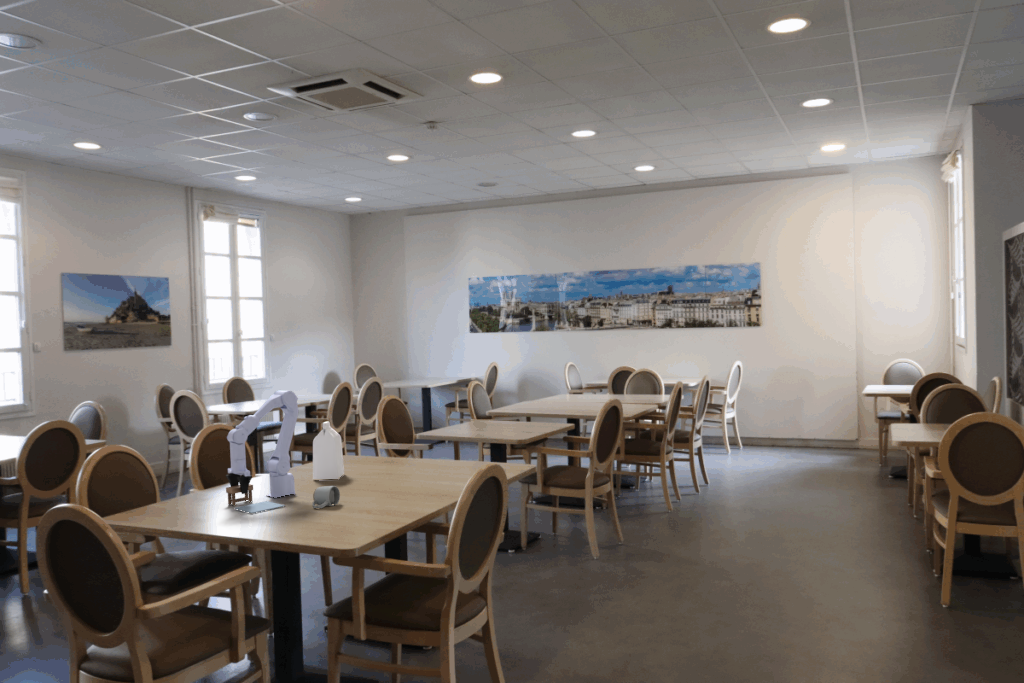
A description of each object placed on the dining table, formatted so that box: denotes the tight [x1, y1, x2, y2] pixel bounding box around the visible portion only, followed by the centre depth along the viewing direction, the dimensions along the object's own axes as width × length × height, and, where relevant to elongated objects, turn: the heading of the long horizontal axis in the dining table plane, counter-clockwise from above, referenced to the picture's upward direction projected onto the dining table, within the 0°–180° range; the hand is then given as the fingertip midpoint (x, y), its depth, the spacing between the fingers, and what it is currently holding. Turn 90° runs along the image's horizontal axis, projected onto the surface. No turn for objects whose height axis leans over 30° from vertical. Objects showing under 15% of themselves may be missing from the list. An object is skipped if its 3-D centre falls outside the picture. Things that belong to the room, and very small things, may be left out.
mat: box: [234, 500, 286, 514], centre depth 298 cm, size 14×14×1 cm
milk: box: [312, 421, 345, 480], centre depth 357 cm, size 12×12×26 cm
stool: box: [225, 483, 254, 506], centre depth 309 cm, size 9×5×7 cm, turn 137°
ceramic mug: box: [311, 485, 341, 509], centre depth 297 cm, size 11×8×8 cm
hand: (239, 492), depth 309 cm, fingers open, 7 cm apart
